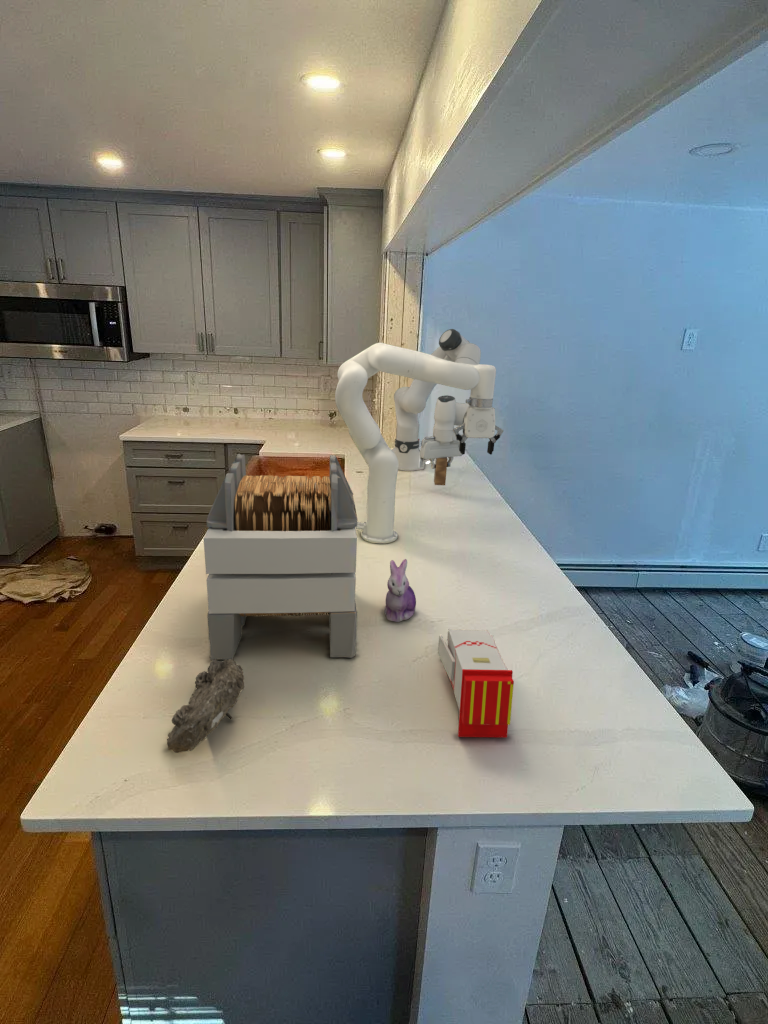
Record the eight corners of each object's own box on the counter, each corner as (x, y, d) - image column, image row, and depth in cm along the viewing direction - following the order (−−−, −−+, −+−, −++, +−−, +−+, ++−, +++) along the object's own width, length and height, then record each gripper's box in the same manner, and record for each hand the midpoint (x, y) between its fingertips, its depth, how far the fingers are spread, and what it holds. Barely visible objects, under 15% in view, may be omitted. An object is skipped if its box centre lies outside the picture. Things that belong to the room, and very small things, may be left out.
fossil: (192, 660, 117) (244, 628, 112) (224, 691, 120) (276, 661, 115) (142, 746, 98) (202, 712, 93) (182, 779, 101) (242, 748, 96)
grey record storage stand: (230, 589, 156) (222, 444, 142) (349, 588, 159) (352, 446, 146) (207, 662, 124) (194, 484, 110) (356, 658, 128) (362, 486, 114)
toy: (488, 613, 130) (523, 677, 101) (484, 667, 133) (517, 744, 104) (435, 612, 130) (455, 676, 101) (432, 666, 133) (451, 743, 103)
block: (434, 485, 241) (436, 458, 237) (433, 481, 247) (435, 455, 243) (445, 485, 241) (447, 458, 237) (444, 481, 247) (446, 455, 243)
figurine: (392, 627, 141) (395, 572, 136) (374, 608, 149) (376, 556, 144) (425, 619, 145) (429, 566, 140) (405, 601, 154) (408, 550, 149)
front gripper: (459, 404, 183) (454, 456, 188) (510, 405, 185) (504, 456, 191) (452, 400, 189) (448, 450, 195) (502, 401, 192) (496, 451, 198)
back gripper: (426, 438, 230) (423, 471, 234) (467, 435, 239) (464, 467, 244) (418, 435, 235) (416, 467, 240) (458, 432, 244) (456, 463, 249)
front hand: (476, 453), depth 193 cm, fingers open, 9 cm apart
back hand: (440, 467), depth 242 cm, fingers closed on block, 6 cm apart
